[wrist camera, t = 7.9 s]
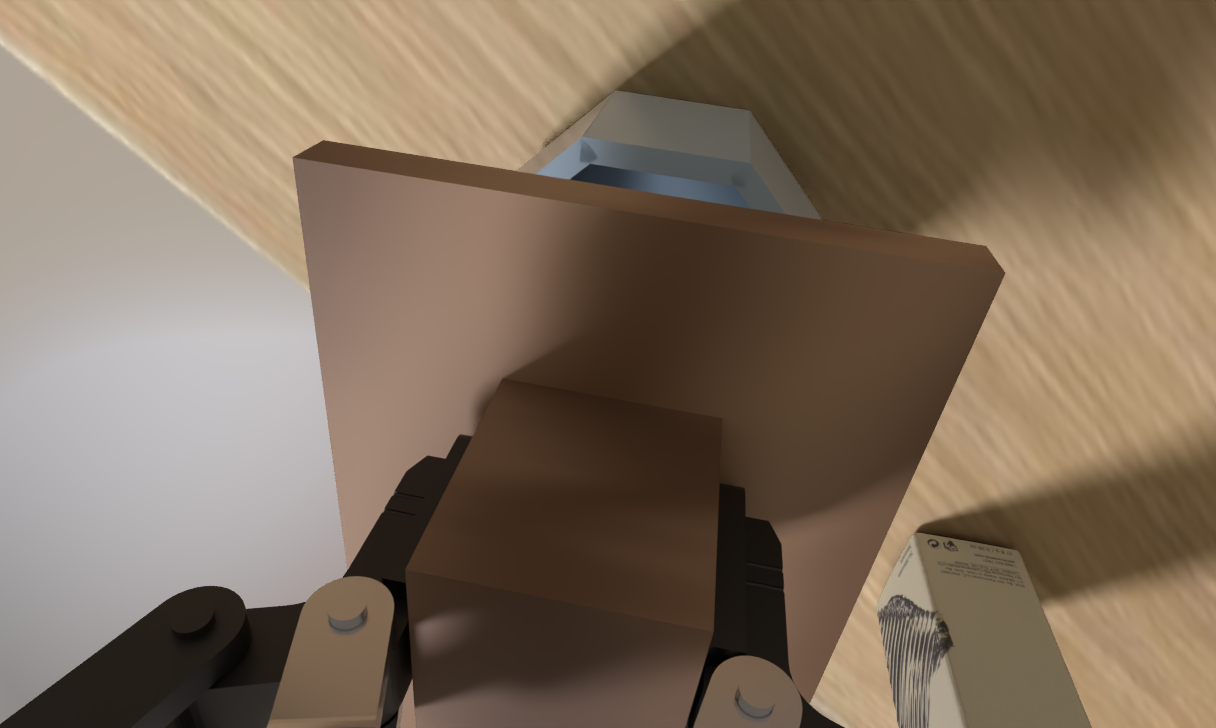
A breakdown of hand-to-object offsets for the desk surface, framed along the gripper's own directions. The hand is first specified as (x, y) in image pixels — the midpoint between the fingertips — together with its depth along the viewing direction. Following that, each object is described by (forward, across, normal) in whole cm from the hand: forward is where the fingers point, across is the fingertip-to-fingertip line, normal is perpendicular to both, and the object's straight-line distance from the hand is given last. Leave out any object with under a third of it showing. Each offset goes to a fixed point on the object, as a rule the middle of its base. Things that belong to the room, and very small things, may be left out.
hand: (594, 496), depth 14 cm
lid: (+1, 0, 0) cm, 1 cm away
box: (+13, -14, +13) cm, 23 cm away
